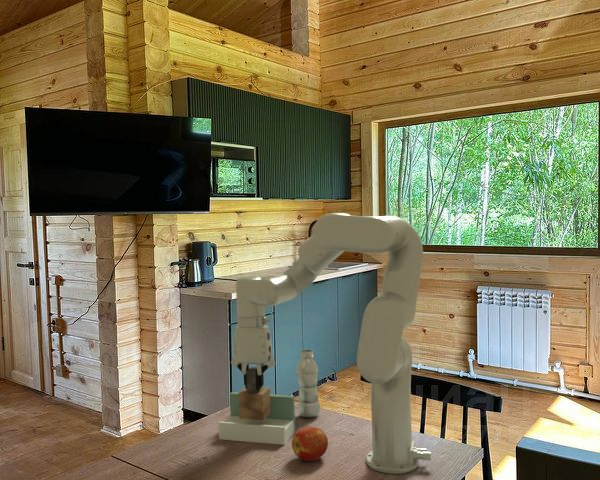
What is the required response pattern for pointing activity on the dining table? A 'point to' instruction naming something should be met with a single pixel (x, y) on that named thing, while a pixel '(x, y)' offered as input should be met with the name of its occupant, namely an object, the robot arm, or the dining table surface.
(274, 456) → the dining table surface
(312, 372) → the plastic bottle
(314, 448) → the apple
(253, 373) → the tan grey tall block
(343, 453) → the dining table surface
